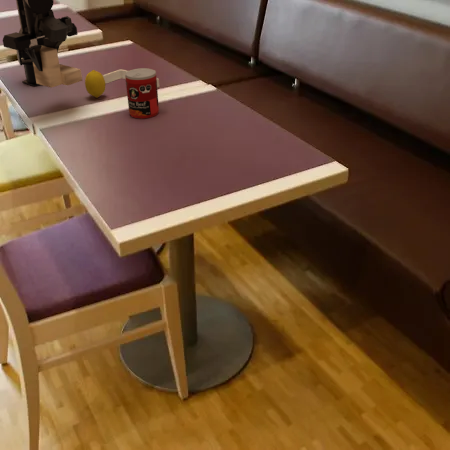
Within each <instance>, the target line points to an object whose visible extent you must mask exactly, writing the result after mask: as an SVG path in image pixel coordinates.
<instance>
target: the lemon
mask: <svg viewBox="0 0 450 450" xmlns="http://www.w3.org/2000/svg"><path fill="white" fill-rule="evenodd" d="M103 75H104V74H102V73H101V72H100V71H97V70H95V69H92V70H91V71H89V72H88V73H87V74H86V76H85V79H84V85H85V89H86V91H87V93H88V94H89V95H90V96H92V97H94V98H96V99H98V98H100V96H103V94H104V92H105V91H106V84H105V80H104V77H103Z"/></svg>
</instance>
